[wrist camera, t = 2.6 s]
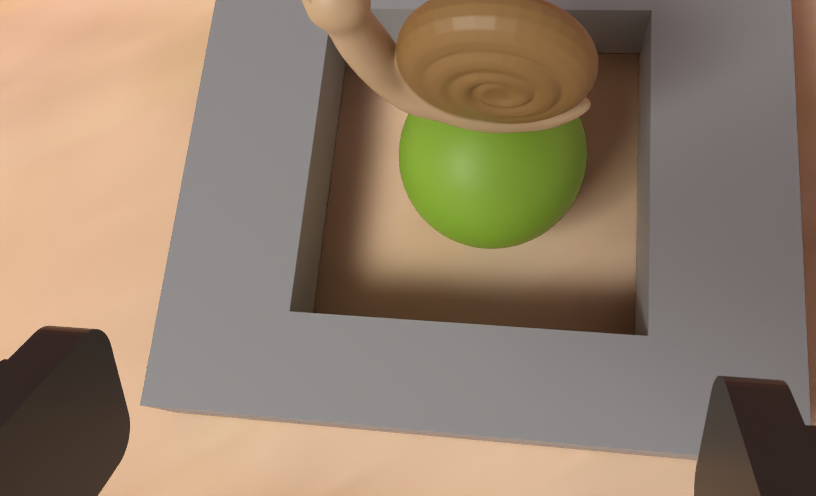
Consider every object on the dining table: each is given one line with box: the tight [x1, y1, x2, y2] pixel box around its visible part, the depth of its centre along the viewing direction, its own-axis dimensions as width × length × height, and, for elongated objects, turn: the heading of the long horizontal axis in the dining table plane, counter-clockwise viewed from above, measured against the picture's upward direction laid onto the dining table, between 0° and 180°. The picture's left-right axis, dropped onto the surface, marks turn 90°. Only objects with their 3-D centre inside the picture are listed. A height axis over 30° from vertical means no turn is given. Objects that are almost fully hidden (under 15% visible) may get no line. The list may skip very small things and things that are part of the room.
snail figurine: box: [302, 0, 599, 249], centre depth 20 cm, size 5×6×12 cm
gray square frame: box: [140, 0, 811, 460], centre depth 24 cm, size 18×16×2 cm
